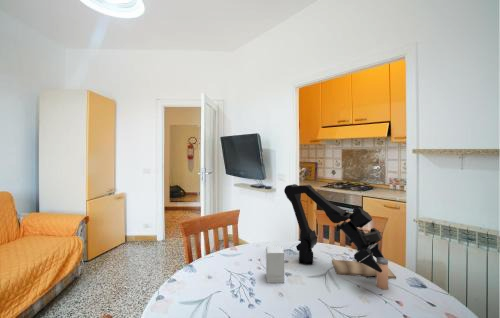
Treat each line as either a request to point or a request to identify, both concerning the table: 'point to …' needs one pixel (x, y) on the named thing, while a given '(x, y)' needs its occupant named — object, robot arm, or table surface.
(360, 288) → the table surface
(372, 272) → the board
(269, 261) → the supplement box
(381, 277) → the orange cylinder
